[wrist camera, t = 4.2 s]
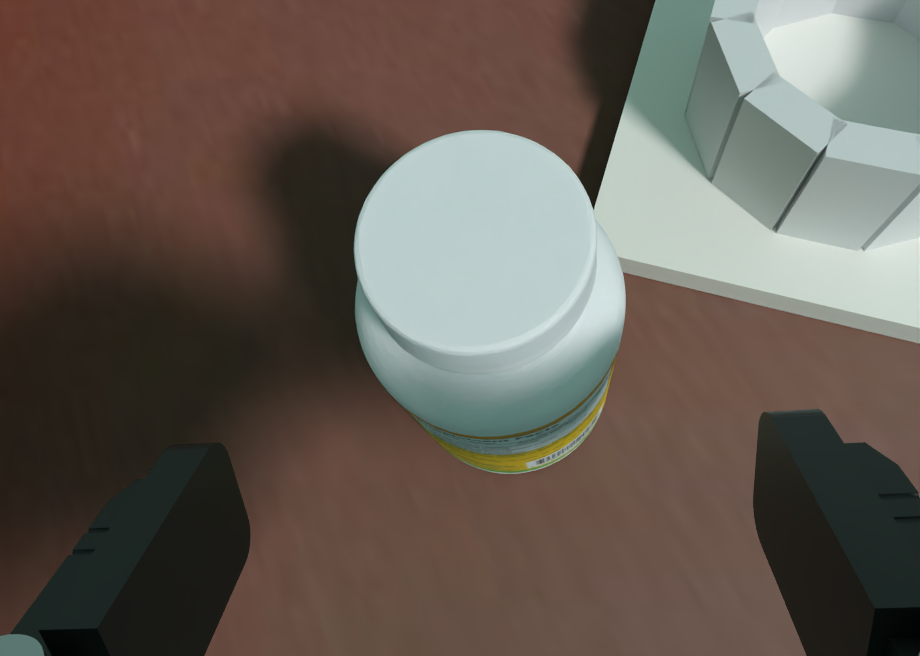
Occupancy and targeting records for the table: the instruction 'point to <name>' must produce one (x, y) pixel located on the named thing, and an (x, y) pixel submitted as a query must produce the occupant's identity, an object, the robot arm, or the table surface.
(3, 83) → the table surface
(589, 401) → the supplement bottle
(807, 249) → the sleeve holder
